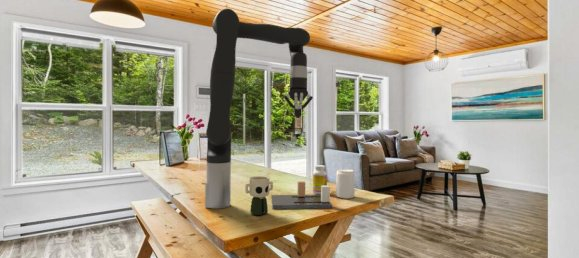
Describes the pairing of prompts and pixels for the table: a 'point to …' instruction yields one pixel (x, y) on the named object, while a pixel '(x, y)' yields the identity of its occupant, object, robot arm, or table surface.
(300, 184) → the terracotta fader
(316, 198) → the board
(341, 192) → the beverage can
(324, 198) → the block
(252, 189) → the character mug
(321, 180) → the supplement bottle
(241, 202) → the table surface
